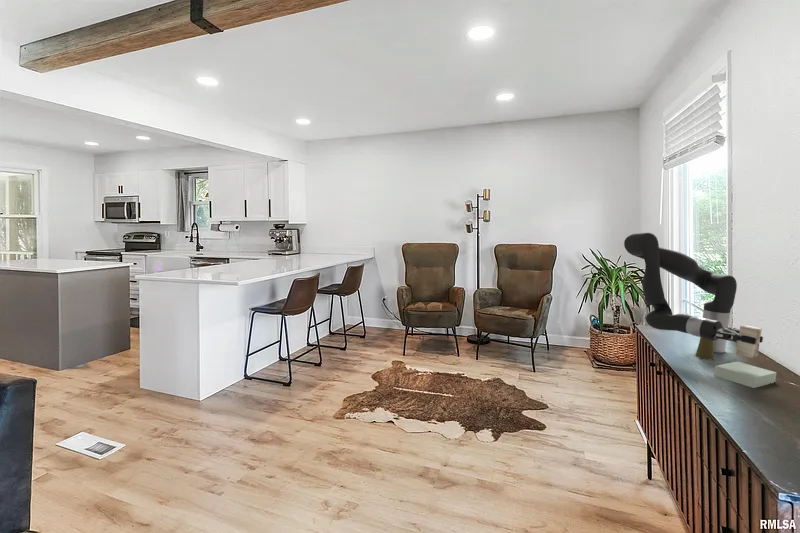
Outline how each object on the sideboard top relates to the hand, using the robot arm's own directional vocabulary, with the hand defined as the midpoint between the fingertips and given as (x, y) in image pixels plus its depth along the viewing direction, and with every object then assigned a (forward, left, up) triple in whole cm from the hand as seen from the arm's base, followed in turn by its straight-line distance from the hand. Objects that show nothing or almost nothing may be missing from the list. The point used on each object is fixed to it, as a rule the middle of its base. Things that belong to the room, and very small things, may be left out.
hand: (758, 340), depth 144 cm
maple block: (0, -3, -6) cm, 7 cm away
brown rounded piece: (-14, -22, -15) cm, 30 cm away
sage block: (0, -3, -15) cm, 15 cm away
